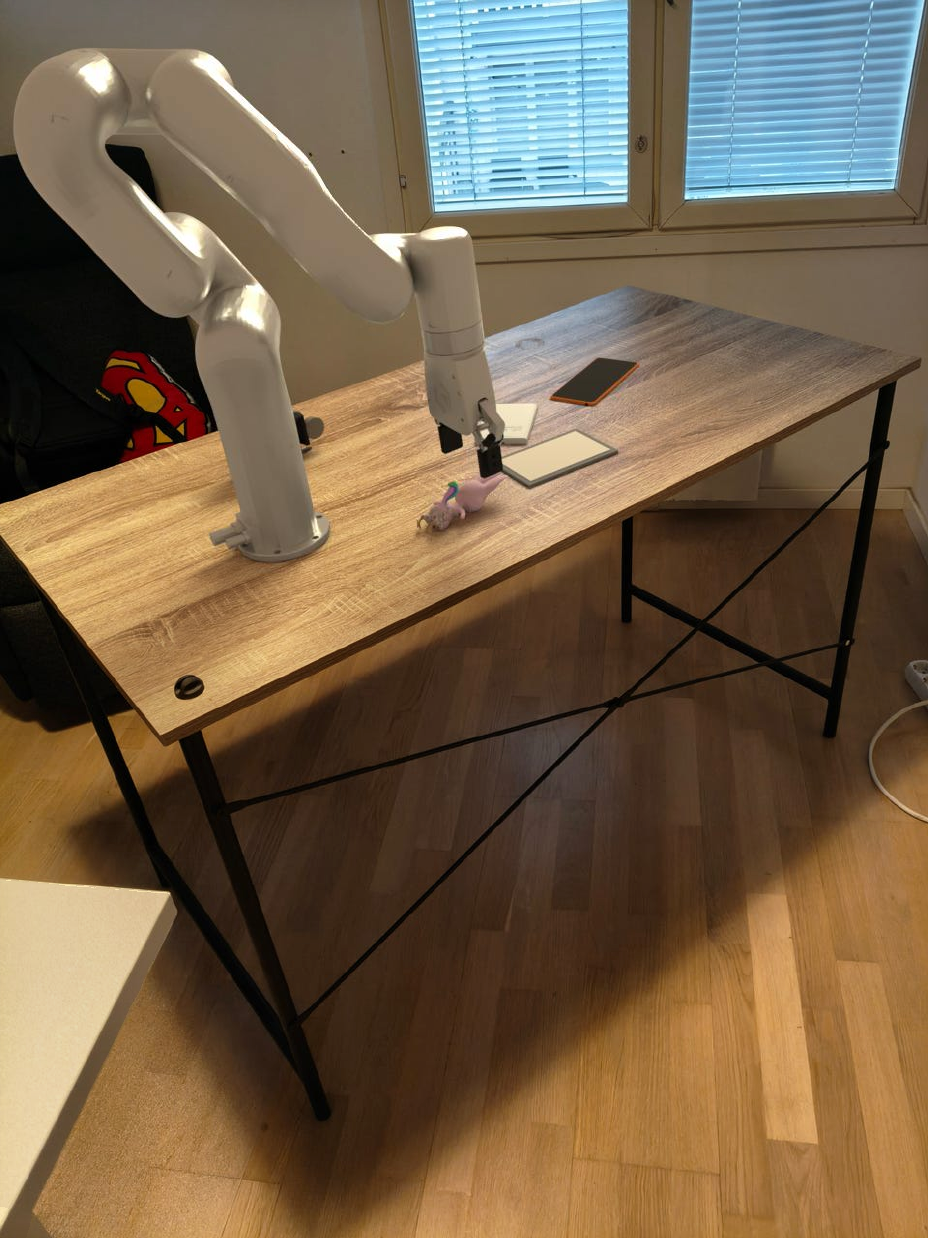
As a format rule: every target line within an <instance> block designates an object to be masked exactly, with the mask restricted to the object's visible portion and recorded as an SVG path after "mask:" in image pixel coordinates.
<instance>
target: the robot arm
mask: <svg viewBox="0 0 928 1238" xmlns="http://www.w3.org/2000/svg"><path fill="white" fill-rule="evenodd" d="M12 126H13V140H14V145H15V151H16V153H17V156H18V160H19V162H20V165H21V167H22V169H23V171H24V173H25V176H26V177H27V178H28V180H29V182H30V183H31V185H32V186H33V188H34V189H35V191H37V193H38V194H39V195H40V197H41V198H42V199H43V200H44V201H45V203H47V205H48V206H49V207H50V208H51V209H52V210H53V211H54V212H55V213H56V214H57V215H58V216H59V217H60V218H61V219H62V220H63V221H65V223H66V224H67V225H68V226H69V227H70V228H71V229H72V230H73V231H74V232H75V233H76V234H77V235H78V236H79V237H80V238H81V239H82V240H83V241H84V242H85V243H86V245H88V247H89V248H90V249H91V250H92V251H93V253H94V254H96V256H97V257H98V258H100V259H101V260H102V261H103V263H105V265H107V267H108V268H109V269H110V270H111V271H112V272H113V273H114V274H115V275H116V276H117V277H118V278H119V279H120V280H121V281H122V282H123V283H124V284H125V285H126V286H127V287H128V288H129V289H130V290H131V291H132V292H133V294H135V295H136V297H138V299H139V300H140V301H141V303H143V304H144V305H145V306H147V308H149V309H150V310H152V311H154V312H155V313H156V314H158V315H161V316H163V317H168V318H176V319H178V318H183V317H186V316H188V315H189V316H190V318H192V319H193V321H195V322H196V323H197V325H199V327H198V330H197V333H196V338H195V348H194V349H195V351H194V352H195V362H196V367H197V370H198V371H197V372H198V374H199V378H200V381H201V382H202V385H203V389H204V391H205V393H206V395H207V399H208V401H209V403H210V407H211V409H212V413H213V417H214V420H215V422H216V423H215V424H216V427H217V430H218V434H219V437H220V442H221V444H222V447H223V452H224V456H225V459H226V462H227V465H228V470H229V473H230V477H231V481H232V484H233V489H234V491H235V496H236V501H237V503H238V507H239V510H240V511H237V512H235V513H234V516H235V520H234V521H232V522H230V525H229V526H226V527H223V528H219V529H216V530H213V531H211V532H210V531H209V533H208V536H209V539H210V541H211V543H212V545H213V546H214V547H217V546H220V545H223V544H225V545H226V547H227V549H228V550H231V549H234V548H237V547H238V550H239V552H240V554H242V555H243V556H244V557H247V558H248V559H251V560H254V561H258V562H264V563H265V562H267V563H268V562H270V563H271V562H272V563H274V562H284V561H289V560H293V559H298V558H301V557H302V556H305V555H308V554H310V553H311V552H313V551H315V550H316V549H318V548H319V547H320V546H322V545H323V544H324V543H325V541H327V539H328V537H329V536H330V532H331V528H330V522H329V519H328V517H327V515H324V513H322V512H320V511H318V510H315V507H314V503H313V497H312V495H311V489H310V485H309V480H308V475H307V472H306V471H307V470H306V466H305V462H304V456H303V453H302V452H301V449H302V446H301V447H300V445H301V444H300V442H299V438H298V433H297V429H296V424H295V420H294V415H293V407H292V403H291V398H290V394H289V391H288V387H287V384H286V380H285V377H284V371H283V368H282V362H281V355H280V354H281V353H280V346H281V345H280V344H281V332H282V321H281V315H280V311H279V309H278V306H277V305H276V303H275V301H274V300H273V298H272V297H271V295H270V294H269V293H268V291H267V290H266V289H265V288H264V287H263V285H262V284H261V283H260V282H259V281H258V280H257V279H256V278H255V277H254V276H253V274H252V273H251V272H250V271H249V269H247V267H245V266H244V265H243V263H242V262H241V261H240V260H239V259H238V257H236V255H235V254H234V253H233V251H231V250H230V249H229V248H228V247H227V245H226V244H225V243H224V242H223V241H222V240H221V238H219V237H218V235H217V234H215V232H214V231H213V230H212V229H210V228H209V227H208V226H207V225H206V224H205V223H203V222H201V220H198V219H197V218H195V217H194V216H192V215H189V214H187V213H183V212H177V211H175V212H174V211H172V212H171V211H168V212H163V211H162V210H161V209H160V208H159V207H158V206H157V204H156V203H155V202H154V201H152V199H151V198H150V197H149V196H148V194H147V193H146V192H145V191H144V190H143V189H142V187H141V186H140V185H139V184H138V183H137V182H136V181H135V180H134V179H133V178H132V177H131V176H130V175H128V173H126V172H125V171H124V170H123V169H121V168H120V167H119V166H118V165H116V163H114V161H113V160H112V159H111V158H110V156H109V154H108V152H107V149H106V141H107V140H108V139H109V138H110V137H112V136H117V135H118V136H120V135H122V136H123V135H125V136H128V135H129V136H131V135H133V136H134V135H135V136H137V135H140V136H142V135H143V136H144V135H145V136H147V135H148V136H149V135H150V136H152V135H153V136H154V135H155V136H156V135H157V136H160V135H162V136H163V137H164V138H165V139H166V140H167V141H168V142H169V143H170V144H172V146H174V147H175V148H176V149H177V150H178V151H180V153H182V154H183V155H184V156H185V157H186V158H187V159H189V160H190V161H191V162H192V163H193V164H194V165H196V166H197V167H198V168H199V169H200V170H201V171H202V172H204V173H205V174H206V175H207V176H209V178H211V180H213V181H214V182H215V183H216V184H217V185H219V186H220V187H221V188H222V189H224V191H226V192H227V193H228V195H230V196H232V197H233V198H234V200H236V201H237V202H238V203H239V204H240V205H242V206H243V207H244V208H245V210H247V211H248V212H249V213H251V214H252V215H253V216H254V217H255V218H256V219H257V220H258V221H259V222H260V223H261V224H262V226H263V227H264V229H266V231H267V232H268V234H269V235H270V236H271V237H272V238H273V239H274V240H276V241H277V243H279V245H280V246H281V247H282V248H283V249H284V250H285V251H286V252H287V253H288V254H289V255H290V257H292V259H294V261H296V263H298V265H299V266H300V267H301V268H302V269H303V270H304V271H305V272H306V273H307V274H308V275H309V276H310V277H311V278H312V279H313V280H315V282H316V283H317V284H319V286H321V287H322V288H323V289H324V290H326V292H328V293H329V294H330V295H331V296H333V297H334V298H335V299H336V300H337V301H338V302H339V303H340V304H342V305H343V306H344V307H345V308H346V309H348V310H349V311H351V312H352V313H353V314H354V315H356V316H357V317H359V318H361V319H363V320H365V321H367V322H370V323H373V324H382V325H383V324H388V323H391V322H394V321H396V320H398V319H400V318H401V317H402V316H403V315H404V314H405V313H406V311H408V310H409V307H410V305H411V303H412V300H413V297H414V298H415V300H416V301H415V302H416V308H417V314H418V319H419V324H420V332H421V337H422V342H423V369H424V370H423V371H424V380H425V390H426V396H427V397H426V398H427V405H428V411H429V413H430V416H432V417H433V419H434V423H435V424H436V425H437V432H438V433H437V434H438V438H439V444H440V451H441V453H443V455H446V454H450V453H452V452H454V451H457V450H459V449H461V448H463V447H464V440H463V436H466V437H467V436H470V435H472V436H473V438H474V439H475V440H476V442H477V444H476V445H477V447H478V449H476V455H477V463H478V471H479V474H480V476H481V477H482V478H484V479H485V478H487V477H490V476H492V475H494V474H497V473H499V472H501V473H502V472H503V471H502V470H503V464H502V457H503V455H502V449H501V445H502V444H503V443H502V440H503V438H504V435H503V433H504V429H505V423H504V421H503V419H502V418H501V417H500V416H499V414H498V413H497V412H496V404H497V403H496V396H495V392H494V391H495V390H494V386H493V380H492V375H491V371H490V366H489V362H488V357H487V354H486V352H485V351H486V350H485V349H484V348H485V347H486V338H485V331H484V324H483V314H482V308H481V307H482V306H481V299H480V292H479V290H480V289H479V283H478V276H477V269H476V268H477V267H476V261H475V253H474V245H473V244H474V243H473V239H472V237H471V235H470V234H469V232H468V230H466V229H464V228H463V227H459V226H453V225H451V226H450V225H448V226H447V225H446V226H445V225H444V226H437V227H432V228H428V229H425V230H422V231H420V232H414V233H413V232H411V233H376V234H375V233H373V234H369V235H368V234H367V233H366V232H365V231H364V230H363V229H362V228H361V227H360V226H359V225H358V224H357V223H356V222H355V221H354V220H353V219H352V218H351V217H350V216H349V215H348V214H347V213H346V211H345V210H343V208H342V207H341V206H340V205H339V203H338V201H336V200H335V198H334V197H333V196H332V193H330V191H329V190H328V189H327V186H326V185H325V184H324V182H323V180H322V178H321V176H320V175H319V173H318V171H317V170H316V167H315V166H314V164H313V163H312V162H311V160H310V159H309V158H308V157H307V155H305V153H304V152H303V151H302V150H301V149H300V148H299V147H297V146H296V145H295V144H294V143H293V142H292V141H291V140H290V139H289V138H288V137H287V136H286V135H284V133H282V132H281V131H280V130H279V129H278V128H277V127H276V126H274V125H273V124H272V123H271V122H270V121H269V119H267V118H266V117H265V116H264V115H263V114H262V113H260V112H259V110H257V109H256V108H255V107H254V106H253V105H252V104H251V103H250V101H248V100H247V99H246V98H245V97H244V96H243V95H242V94H241V93H239V92H238V91H237V89H235V85H234V83H233V79H232V78H231V76H230V74H229V72H228V70H227V69H226V68H225V66H224V65H223V64H222V63H221V62H220V61H219V60H218V59H217V58H215V57H214V56H213V55H211V54H210V53H207V52H205V51H201V50H199V49H191V48H170V49H169V48H167V49H166V48H164V49H163V48H159V49H156V48H155V49H152V48H145V49H143V48H113V47H111V48H109V47H107V48H105V47H103V48H102V47H101V48H100V47H84V48H83V47H82V48H77V49H75V48H74V49H72V50H68V51H65V52H63V53H61V54H59V55H55V56H53V57H51V58H48V59H46V60H44V61H42V62H41V63H39V64H38V65H36V66H35V67H34V68H33V69H32V70H31V72H30V73H29V74H28V75H27V77H26V78H25V79H24V81H23V83H22V85H21V87H20V89H19V92H18V95H17V98H16V101H15V107H14V113H13V125H12ZM413 295H414V296H413ZM482 421H483V422H484V423H483V424H481V423H480V424H481V425H480V424H478V423H479V422H482ZM486 429H488V431H489V433H490V434H488V435H487V437H486V438H485V439H483V437H482V434H481V431H483V430H486Z"/></svg>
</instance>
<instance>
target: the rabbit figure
mask: <svg viewBox="0 0 928 1238" xmlns="http://www.w3.org/2000/svg"><path fill="white" fill-rule="evenodd" d="M501 474H502V471H501V472H499V473H497V474H494V475H492V476H490V477H487V478H485V479H484V478H482V477H481V476H480V473H479V474H477V475H475V477H473V479H471V480H467V481H465V482H464V483H463V484H461V485H460V486H459V485H458V482H456V481H454V480H452V481H450V482H448V484H447V485H446V487H448V489H447V490H446V492H445V493H444V495H443V497H442V500H439V501H434V502H433V506H432V507H431V508H430V509H429V511H428V512H427V513H426V514H422V515H421V516H420V517H419V519H416V528H419V531H421V530H423V528H422V526H421V523H422V521H423V520H424V521H425V522H426V524H427V527H428V532H427V534H431V536H430V537H433V536H434V533H433V530H432V528H433V527H434V528H435V529H436V530H437V531H444V530H446V529H448V527H449V525H450V522H451V520H452V518H456V517H458V516H459V514H460V519H461V520H464V519H465V517H466V512H468V513H472V512H477V511H479V510H480V509H482V507H483V505H484V504H485V501H486V500H487V498H488V496H489V495H490V494H491V493H492V492H493V491H494V490H495V489H497V487H498V486H499V485H500V484H501V483H502V482H503V481H504V480H506V479H508V477H509V475H508V474H504V475H501ZM453 498H454V500H455V502H454V501H453V502H452V501H451V502H450V500H451V499H453Z"/></svg>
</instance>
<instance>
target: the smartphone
mask: <svg viewBox="0 0 928 1238" xmlns="http://www.w3.org/2000/svg"><path fill="white" fill-rule="evenodd" d="M639 366H640V363H638V362H637V361H632V360H631V361H630V360H625V359H624V360H622V359H614V358H608V357H601V356H600V357H596V358H595V359H593V360H592V361H591V362H589V363H588V364H587V365H585V367H584V368H583V369H581V370H580V371H579V372H577V373H576V374H575V375H573V377H571V378H570V379H569V380H568V381H567V382H565V383H564V384H563V385H561V386H560V387H559V388H558V389H557V390H556V391H554V392H553V393H552V394H551V395H550V396H549V398H550V400H551V401H555V402H562V403H569V404H576V405H583V406H586V405H587V406H588V407H594V406H596V405H597V404H599V402H600V401H602V400H603V399H604V398H605V397H606V396H607V395H608V394H609V393H611V392H612V391H613V390H614V389H615V388H616V387H617V386H618V385H620V384H621V383H622V382H623V381H624V380H625V379H626V378H627V377H629V375H631V374H632V373H633V372H634V371H635V370H636V369H637V368H638V367H639ZM630 373H631V374H630Z"/></svg>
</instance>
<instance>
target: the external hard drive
mask: <svg viewBox="0 0 928 1238" xmlns="http://www.w3.org/2000/svg"><path fill="white" fill-rule="evenodd" d="M538 407H539V406H538V404H536V403H496V412H497V413H498V414H499V416H500V417H501V418H502V419H503V421H504V423H505V429H504V433H503V435H504V438H503V440H502V444H505V445H506V444H507V445H512V444H513V445H515V444H518V445H527V444H528V441H529V439H530V435H531V431H532V430H533V425H534V422H535V419H536V415H537V412H538ZM483 423H484V422H483V421H480V424H479V425H481V424H483ZM481 434H482V437H483V439H485V438H486V437H487V435H488V434H490V433H489V431H488V429H486V430H483V431H481ZM473 441H474V445H478V444H477V442H476V440H475V438H474V440H473Z"/></svg>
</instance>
